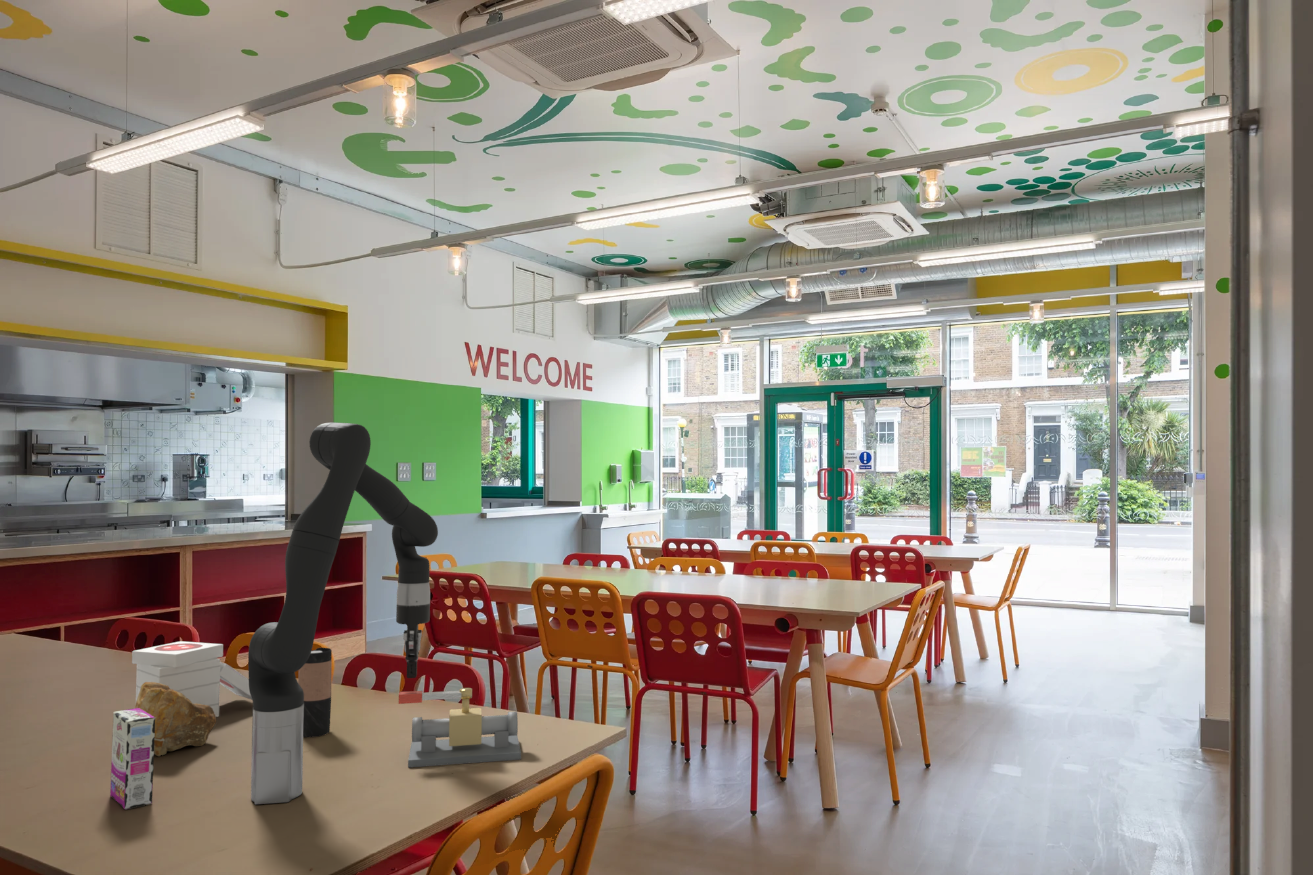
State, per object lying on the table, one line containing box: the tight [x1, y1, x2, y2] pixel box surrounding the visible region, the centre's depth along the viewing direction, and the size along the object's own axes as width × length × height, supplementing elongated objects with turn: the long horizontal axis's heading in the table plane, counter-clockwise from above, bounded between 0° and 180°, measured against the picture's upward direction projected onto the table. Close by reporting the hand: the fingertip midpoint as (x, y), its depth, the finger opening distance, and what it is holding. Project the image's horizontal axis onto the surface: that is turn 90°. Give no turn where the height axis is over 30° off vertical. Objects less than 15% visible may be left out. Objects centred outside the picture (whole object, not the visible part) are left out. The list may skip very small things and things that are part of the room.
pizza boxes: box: [131, 640, 252, 718], centre depth 234 cm, size 19×30×18 cm, turn 140°
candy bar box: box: [109, 707, 155, 811], centre depth 170 cm, size 11×5×16 cm, turn 45°
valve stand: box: [407, 698, 522, 768], centre depth 198 cm, size 14×24×12 cm, turn 102°
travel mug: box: [297, 647, 333, 738], centre depth 215 cm, size 8×8×20 cm
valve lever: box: [398, 687, 473, 705], centre depth 197 cm, size 16×3×2 cm, turn 104°
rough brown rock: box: [134, 682, 217, 757], centre depth 204 cm, size 23×17×15 cm
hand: (411, 677), depth 203 cm, fingers closed
